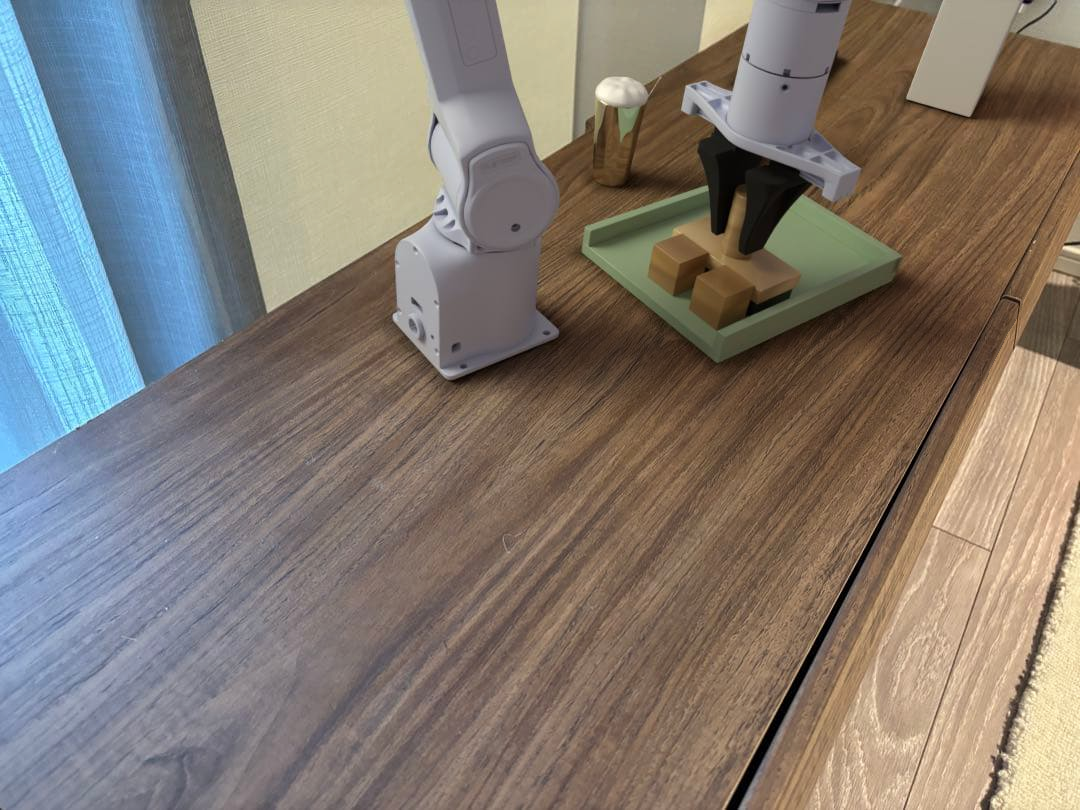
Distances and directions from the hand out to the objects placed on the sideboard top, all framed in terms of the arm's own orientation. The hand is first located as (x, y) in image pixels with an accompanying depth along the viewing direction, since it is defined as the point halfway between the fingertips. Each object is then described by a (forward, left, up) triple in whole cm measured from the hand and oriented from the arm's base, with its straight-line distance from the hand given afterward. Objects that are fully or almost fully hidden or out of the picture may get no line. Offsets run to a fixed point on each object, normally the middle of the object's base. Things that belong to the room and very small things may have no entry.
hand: (737, 240), depth 65 cm
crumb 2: (-3, -3, -4) cm, 6 cm away
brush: (0, 0, -4) cm, 4 cm away
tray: (+4, +2, -5) cm, 6 cm away
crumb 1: (-3, +2, -4) cm, 6 cm away
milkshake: (+4, +18, -5) cm, 19 cm away
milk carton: (+49, +14, -5) cm, 51 cm away
